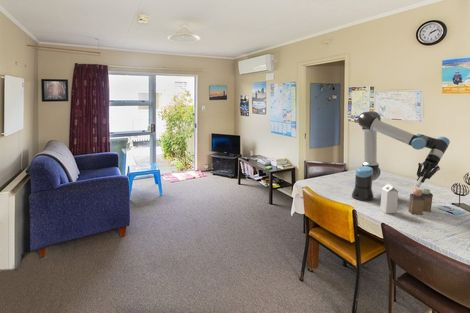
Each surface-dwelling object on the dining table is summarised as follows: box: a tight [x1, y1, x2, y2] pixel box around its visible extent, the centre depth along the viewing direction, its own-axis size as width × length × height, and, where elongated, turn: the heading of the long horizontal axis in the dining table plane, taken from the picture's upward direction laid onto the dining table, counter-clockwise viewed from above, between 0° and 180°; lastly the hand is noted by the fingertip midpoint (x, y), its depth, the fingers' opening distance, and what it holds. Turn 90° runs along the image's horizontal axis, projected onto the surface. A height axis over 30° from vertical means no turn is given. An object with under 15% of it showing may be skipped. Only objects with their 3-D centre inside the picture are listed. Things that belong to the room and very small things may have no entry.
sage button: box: [421, 188, 431, 194], centre depth 193 cm, size 5×5×4 cm
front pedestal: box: [407, 193, 425, 216], centre depth 189 cm, size 6×6×12 cm
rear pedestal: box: [422, 192, 434, 213], centre depth 194 cm, size 6×6×12 cm
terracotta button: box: [412, 188, 422, 197], centre depth 188 cm, size 5×5×4 cm
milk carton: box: [379, 182, 399, 214], centre depth 192 cm, size 7×7×19 cm
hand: (417, 185), depth 186 cm, fingers closed
